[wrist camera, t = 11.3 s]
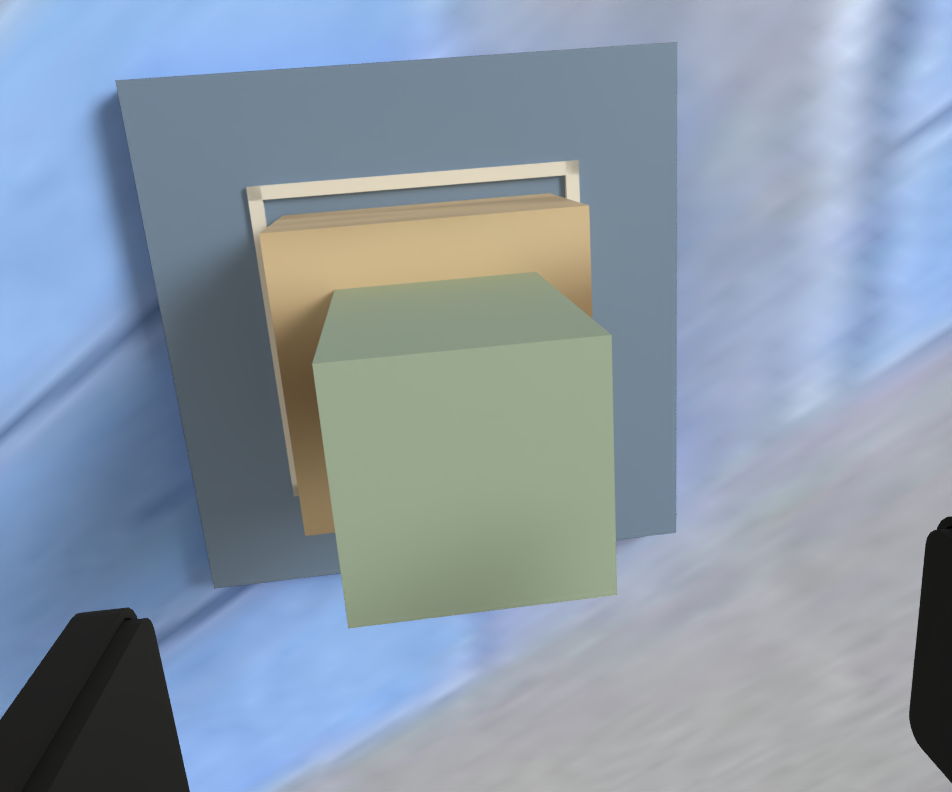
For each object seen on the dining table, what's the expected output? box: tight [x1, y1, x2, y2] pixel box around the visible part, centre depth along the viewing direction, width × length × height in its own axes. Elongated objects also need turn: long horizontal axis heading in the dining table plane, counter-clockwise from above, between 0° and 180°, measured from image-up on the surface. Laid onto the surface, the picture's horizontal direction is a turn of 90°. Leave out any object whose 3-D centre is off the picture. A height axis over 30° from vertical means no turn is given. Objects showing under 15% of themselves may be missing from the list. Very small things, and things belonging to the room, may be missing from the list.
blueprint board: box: [115, 42, 677, 588], centre depth 26 cm, size 16×16×1 cm
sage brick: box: [312, 272, 617, 628], centre depth 18 cm, size 5×5×7 cm
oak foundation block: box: [259, 193, 593, 536], centre depth 23 cm, size 8×8×5 cm
